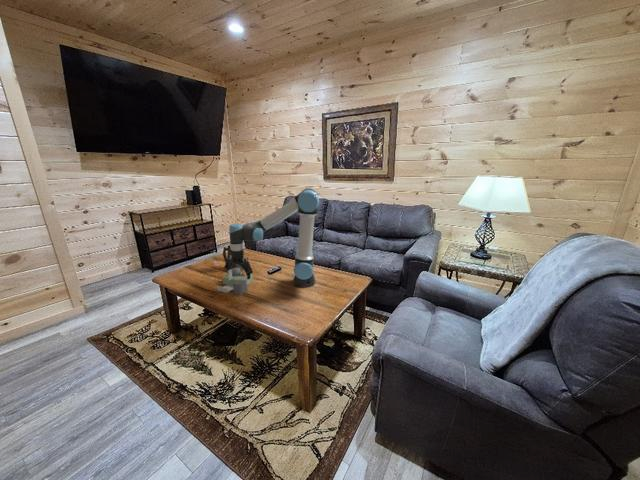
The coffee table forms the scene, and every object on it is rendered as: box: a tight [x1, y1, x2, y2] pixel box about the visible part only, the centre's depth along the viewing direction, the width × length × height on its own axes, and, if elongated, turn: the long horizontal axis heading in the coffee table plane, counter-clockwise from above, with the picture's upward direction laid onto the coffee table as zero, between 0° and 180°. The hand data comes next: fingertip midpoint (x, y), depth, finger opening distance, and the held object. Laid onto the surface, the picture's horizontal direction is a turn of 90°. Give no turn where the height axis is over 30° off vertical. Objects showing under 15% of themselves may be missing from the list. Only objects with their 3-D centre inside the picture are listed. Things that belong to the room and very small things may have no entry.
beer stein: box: [222, 244, 244, 272], centre depth 200 cm, size 15×11×20 cm
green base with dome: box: [216, 268, 254, 294], centre depth 176 cm, size 16×22×9 cm
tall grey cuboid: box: [232, 279, 248, 296], centre depth 167 cm, size 5×7×7 cm
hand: (239, 281), depth 166 cm, fingers open, 13 cm apart
